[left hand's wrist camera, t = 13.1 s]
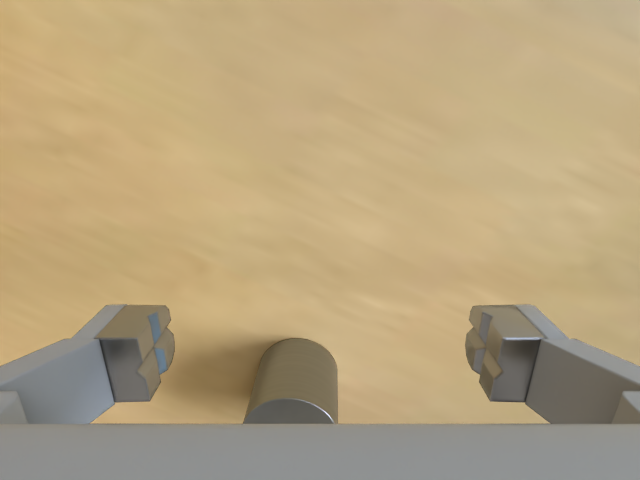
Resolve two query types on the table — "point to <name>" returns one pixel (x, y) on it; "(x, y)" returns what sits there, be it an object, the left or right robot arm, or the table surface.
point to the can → (295, 385)
